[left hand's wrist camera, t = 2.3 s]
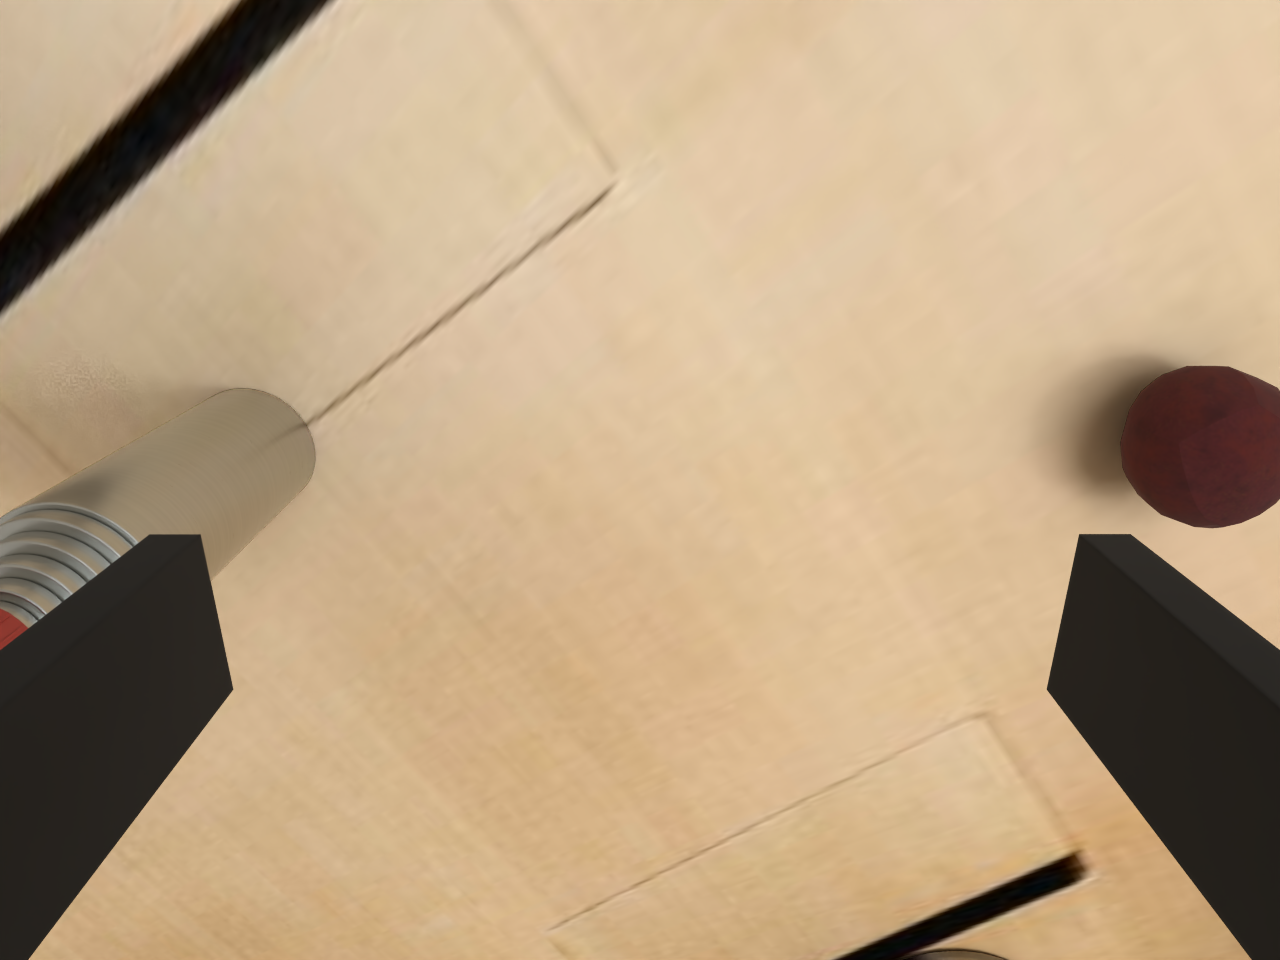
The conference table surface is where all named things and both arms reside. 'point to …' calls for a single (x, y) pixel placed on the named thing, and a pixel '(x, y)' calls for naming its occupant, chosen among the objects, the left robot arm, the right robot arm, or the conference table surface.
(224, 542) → the bottle
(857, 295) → the conference table surface
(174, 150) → the conference table surface
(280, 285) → the conference table surface
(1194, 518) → the dark red plum
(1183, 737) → the left robot arm
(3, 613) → the cap
